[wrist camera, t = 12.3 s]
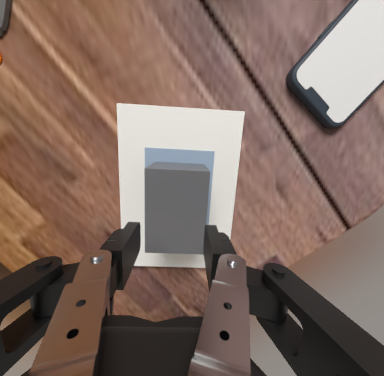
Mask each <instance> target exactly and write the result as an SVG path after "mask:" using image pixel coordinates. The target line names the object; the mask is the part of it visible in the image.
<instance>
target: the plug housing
mask: <svg viewBox="0 0 384 376" xmlns="http://www.w3.org/2000/svg"><path fill="white" fill-rule="evenodd" d="M144 175H145V253H170V254H202V255H204V254H203V244H204V231H205V225H206V221H207V208H208V195H209V183H210V171H209V169H208V168H207V167H206V166H205V165H204V164H193V163H174V162H154V163H152V164H151V165H149V166H147V167H146V168H144Z"/></svg>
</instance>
